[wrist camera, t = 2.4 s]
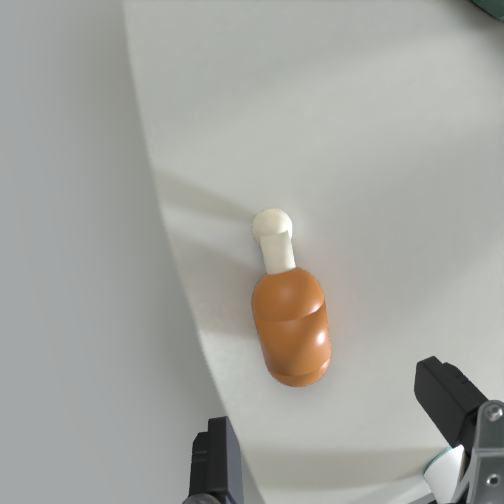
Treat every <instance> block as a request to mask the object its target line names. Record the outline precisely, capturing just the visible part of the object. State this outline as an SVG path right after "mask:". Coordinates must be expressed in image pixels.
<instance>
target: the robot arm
mask: <svg viewBox="0 0 504 504" xmlns="http://www.w3.org/2000/svg"><path fill="white" fill-rule="evenodd" d="M414 392H415V396H416V398H417V400H418V402H419V403H420V404H421V406H422V407H423V408H424V410H425V411H426V413H427V414H428V415H429V417H430V418H431V419H432V421H433V422H434V424H435V425H436V426H437V428H438V429H439V431H440V432H441V433H442V435H443V436H444V438H445V439H446V440H447V442H448V443H449V445H450V446H451V448H452V449H454V448H456V447H458V446H460V445H462V446H463V448H464V449H463V452H462V458H461V464H460V470H459V475H458V480H457V485H456V489H455V492H454V494H453V497H452V499H451V502H450V503H445V504H504V403H503V402H501V401H499V400H490V401H489V400H488V399H487V398H486V397H485V396H484V395H483V394H482V393H481V392H480V391H479V390H478V388H477V387H476V386H475V385H474V384H473V383H472V382H471V381H469V380H468V378H467V377H466V376H465V375H463V373H462V372H461V371H460V370H459V369H458V368H457V367H456V366H453V365H451V364H449V363H447V362H446V363H443V364H442V363H441V362H440V361H439V360H438V359H437V358H436V357H435V356H431V357H429V358H427V359H424V360H422V361H420V362H418V363H417V366H416V376H415V385H414ZM190 474H191V475H190V488H189V495H188V498H187V499H185V501H184V502H183V503H182V504H244V499H243V485H242V471H241V458H240V447H239V443H238V440H237V437H236V435H235V432H234V430H233V427H232V425H231V423H230V420H229V418H228V416H224V417H218V418H212V419H209V421H208V432H201V433H198V435H197V437H196V438H195V440H194V442H193V448H192V463H191V473H190ZM428 504H437V502H436V500H434V501H432V502H430V503H428Z"/></svg>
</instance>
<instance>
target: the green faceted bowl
mask: <svg viewBox="0 0 504 504" xmlns="http://www.w3.org/2000/svg"><path fill="white" fill-rule="evenodd" d="M472 1H473V2H474V3H475V4H477V5H478V6H480V7H481V8H483V9H484V10H485V11H487V12H488V13H490V14H491V15H492V16H494V17H495V18H497V19H499V20H502V21H504V0H472Z"/></svg>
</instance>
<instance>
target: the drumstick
mask: <svg viewBox="0 0 504 504" xmlns="http://www.w3.org/2000/svg"><path fill="white" fill-rule="evenodd" d="M251 232H252V236H253V239H254V240H255V242H256V243H257V244H258V245H259V246H261V250H262V255H263V259H264V264H265V268H266V273H267V274H265V275H264V276H263V277H262V278H261V279H260V280H259V282H258V283H257V285H256V287H255V289H254V292H253V295H252V311H253V315H254V319H255V323H256V327H257V331H258V335H259V339H260V343H261V347H262V351H263V355H264V359H265V363H266V366H267V368H268V371H269V372H270V373H271V375H272V376H273V377H274V378H275V379H276V380H277V381H279V382H280V383H282V384H284V385H287V386H291V387H303V386H307V385H310V384H312V383H314V382H316V381H317V380H318V379H319V378H321V377H322V376H323V374H324V373H325V371H326V370H327V368H328V366H329V363H330V359H331V347H330V339H329V330H328V322H327V314H326V306H325V299H324V294H323V290H322V288H321V286H320V284H319V282H318V281H317V280H316V279H315V277H314V276H313V275H311V274H310V273H309V272H307V271H305V270H303V269H301V268H298V267H296V266H295V261H294V256H293V250H292V245H291V240H290V238H291V235H292V223H291V221H290V219H289V217H288V216H287V215H286V214H285V213H284V212H282V211H280V210H278V209H266V210H263V211H261V212H260V213H258V214H257V215H256V217H255V218H254V220H253V222H252V225H251Z"/></svg>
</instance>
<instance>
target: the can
mask: <svg viewBox="0 0 504 504" xmlns="http://www.w3.org/2000/svg"><path fill="white" fill-rule="evenodd" d="M463 449H464V448H463V446H462V445H460V446H458V447H456V448H454V449H452V448H449V449H447V450H445V451H444V452H442V453H441V454H440V455H438V456H437V457H436V458H435V459H434V460H433V461H432V462H431V463H430V465H429V466H428V468H427V470H426V472H425V474H424V478H425V480H426V482H427V483H428V485H429V487H430V489H431V490H432V492H433V494H434V496H435V497H436V499H437V501H438V503H439V504H445V503H450V502H451V499H452V497H453V494H454V492H455V489H456V485H457V480H458V475H459V470H460V464H461V458H462V452H463Z"/></svg>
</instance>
